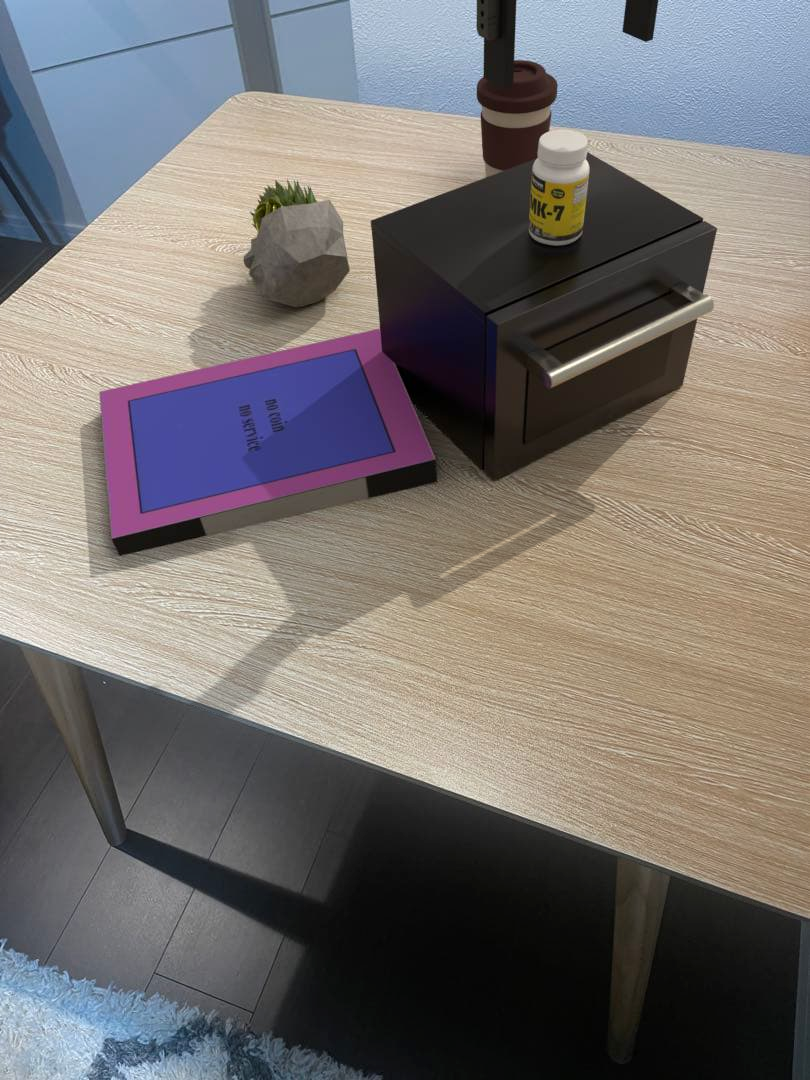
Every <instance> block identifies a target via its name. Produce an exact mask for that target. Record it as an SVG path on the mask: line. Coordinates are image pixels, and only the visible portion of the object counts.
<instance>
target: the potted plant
mask: <svg viewBox="0 0 810 1080" xmlns="http://www.w3.org/2000/svg"><path fill="white" fill-rule="evenodd" d="M274 182H275V187H274V186H270V185H269V184H267V185H266V186H267V188H266V187H263V189H264V191H263V192H262V194H263V195H260V194H258V197H259V199H260V200H259V199H257V200H256V201H257V202H258V205H257V206H256V208H253V210H254V212H252V211H250V210H249V214H250V215H251V216H252V223H251V225H252V226H253V227H254V229H255V230H256V231H257V234H256V237H253V238H251V239H250V249H249V250H248V251H247V252H246V253H245V255H243V264H244V265H245V268H246V269H248V270H249V271H248V275H249V277H250V278H251V281H252V283H253V285H254V287H255V288H256V290H257V292H258V294H259V296H261V297H263V298H265V299H267V300H269V301H273V302H276V303H280V304H283V305H286V306H289V307H293V308H297V309H298V308H301V307H304V306H308V305H312V304H315V303H319V302H320V301H322V300H324V299H325V298H326V297H328V296H329V295H331V294H333V293H335V291H336V290H337V289H338V288H339V286H340V284H341V283H342V282H343V281H344V279H345V278H346V277H347V275H348V274H349V273H350V271H351V270H350V265H349V258H348V252H347V247H346V240H345V237H344V221H343V219H342V218H341V216H340V214H339V213H338V211H337V209H336V207H335V206H334V204H333V203H332V201H331V199H325V200H321V201H318V200H317V199H316V196H315V195H314V192H313V189H312V187H311V186H307V188H306V187H305V186H303V189H304V191H303V189H302V187H301V185H300V183H299V179H297V181H295V179H293V183H294V185H293V186H292V185H291V182H290V181H289V179H288V178H287V179H286V182H287V187H286V186H283V185H281V183H279V182H278V181H277V179H275V180H274Z"/></svg>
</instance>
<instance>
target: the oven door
mask: <svg viewBox="0 0 810 1080" xmlns="http://www.w3.org/2000/svg"><path fill="white" fill-rule="evenodd" d="M717 232H718V227H716V226H715V225H713V224H711V223H709V222H707V221H706V220H703V222H701V223H699V224H696V225H694V226H692V227H689V228H687V229H685V230H682V231H680V232H678V233H676V234H673V235H671V236H669V237H666V238H664V239H662V240H659V241H657V242H655V243H652V244H650V245H648V246H646V247H643V248H641V249H639V250H636V251H634V252H632V253H629V254H627V255H625V256H623V257H620V258H618V259H616V260H613V261H611V262H609V263H606V264H604V265H602V266H599V267H597V268H595V269H593V270H590V271H588V272H586V273H583V274H581V275H579V276H576V277H574V278H572V279H570V280H567V281H565V282H563V283H560V284H558V285H556V286H553V287H551V288H549V289H547V290H544V291H542V292H540V293H537V294H535V295H533V296H530V297H528V298H526V299H523V300H521V301H519V302H517V303H514V304H512V305H510V306H507V307H505V308H503V309H500V310H498V311H496V312H494V313H491V314H489V315H487V316H486V376H485V443H484V471H483V472H484V474H485V475H486V476H487V477H489V479H490V480H491V481H492V482H495V481H498V480H500V479H502V478H503V477H505V476H507V475H509V474H511V473H513V472H515V471H517V470H520V469H521V468H523V467H525V466H527V465H529V464H531V463H533V462H535V461H537V460H540V459H541V458H543V457H546V456H548V455H549V454H551V453H552V452H554V451H557V450H559V449H560V448H562V447H564V446H566V445H569V444H570V443H573V442H574V441H576V440H579V439H580V438H583V437H584V436H587V435H588V434H590V433H592V432H594V431H596V430H598V429H600V428H602V427H604V426H606V425H608V424H610V423H612V422H614V421H616V420H618V419H620V418H622V417H623V416H625V415H627V414H629V413H631V412H634V411H635V410H638V409H639V408H641V407H643V406H645V405H648V404H649V403H651V402H653V401H655V400H657V399H659V398H661V397H663V396H665V395H667V394H669V393H671V392H673V391H675V390H677V389H679V388H681V387H683V385H684V382H685V377H686V372H687V367H688V363H689V358H690V354H691V349H692V346H693V340H694V335H695V332H696V327H697V323H698V319H699V318H701V317H703V316H705V315H707V314H709V313H711V312H713V310H714V308H715V303H714V300H713V298H712V297H711V296H710V295H707V294H704V291H705V285H706V281H707V277H708V272H709V268H710V263H711V259H712V255H713V251H714V250H713V249H714V245H715V240H716V236H717Z"/></svg>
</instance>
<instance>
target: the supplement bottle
mask: <svg viewBox="0 0 810 1080" xmlns="http://www.w3.org/2000/svg"><path fill="white" fill-rule="evenodd" d="M588 141H589V140H588V138H587V136H585V135H584V134H583V133H582V132H579V131H576V130H573V129H553V130H549V132H547V133H545V134H543V135H542V136H541V137H540V139H539V146H538V158H537V159H536V160H535V162H534V164H533V168H532V182H531V198H530V215H529V233H530V235H531V237H532V238H533V239H535V240H536V241H538V242H540V243H543V244H547V245H553V246H560V245H567V244H570V243H572V242H574V241H576V240H577V239H578V238H579V237H580V236H581V234H582V231H583V222H584V215H585V205H586V197H587V188H588V179H589V164H588V162H587V160H586V156H587V152H588V143H589V142H588Z"/></svg>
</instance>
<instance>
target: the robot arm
mask: <svg viewBox="0 0 810 1080" xmlns="http://www.w3.org/2000/svg"><path fill="white" fill-rule="evenodd" d="M658 6H659V0H625V6H624V14H623V22H622V23H623V24H622V30H621V31H622V33H624V34H626V35H629V36H631V37H633V38H634V39H638V40H639V41H642V42H644V43H648V42H650V41H653V40H654V34H655V27H656V20H657V13H658ZM516 20H517V0H476V31H477V35H478V36H479V37H481V38H482V39H483V74H482V75H483V76H482V77H483V78H485V79H487V80H488V81H490V82H492V83H494V84H496V85H497V86H499V87H501V88H503V89H505V90H506V89H509V88H512V87H513V80H514V60H515V49H516V26H517V24H516V23H517V21H516Z"/></svg>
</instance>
